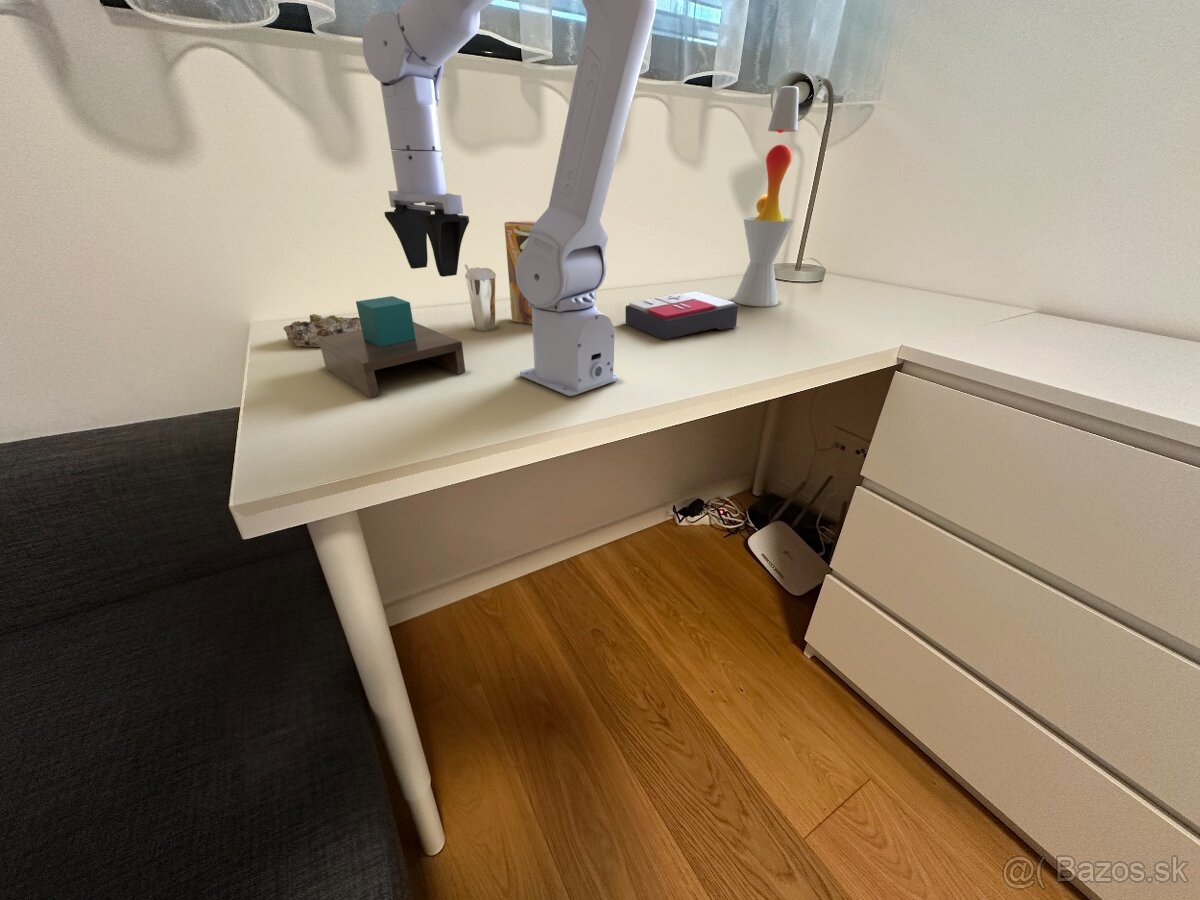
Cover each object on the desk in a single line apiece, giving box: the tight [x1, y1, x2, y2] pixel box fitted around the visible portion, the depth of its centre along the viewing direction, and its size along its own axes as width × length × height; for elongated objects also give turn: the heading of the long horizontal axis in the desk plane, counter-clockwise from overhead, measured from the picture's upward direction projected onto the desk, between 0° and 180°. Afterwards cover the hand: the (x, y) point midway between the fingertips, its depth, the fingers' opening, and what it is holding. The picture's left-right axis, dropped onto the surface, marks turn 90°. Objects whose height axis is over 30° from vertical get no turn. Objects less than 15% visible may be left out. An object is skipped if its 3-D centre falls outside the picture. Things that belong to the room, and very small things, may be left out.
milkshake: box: [464, 264, 497, 332], centre depth 79 cm, size 5×5×10 cm
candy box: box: [503, 220, 537, 325], centre depth 81 cm, size 9×4×15 cm, turn 67°
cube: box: [355, 295, 416, 347], centre depth 61 cm, size 4×4×4 cm
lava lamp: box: [732, 85, 800, 307], centre depth 93 cm, size 9×9×35 cm
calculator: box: [625, 290, 739, 341], centre depth 84 cm, size 11×4×15 cm
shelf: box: [318, 321, 466, 399], centre depth 63 cm, size 13×12×4 cm
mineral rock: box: [283, 313, 362, 348], centre depth 74 cm, size 11×4×8 cm
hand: (433, 271), depth 67 cm, fingers open, 7 cm apart
